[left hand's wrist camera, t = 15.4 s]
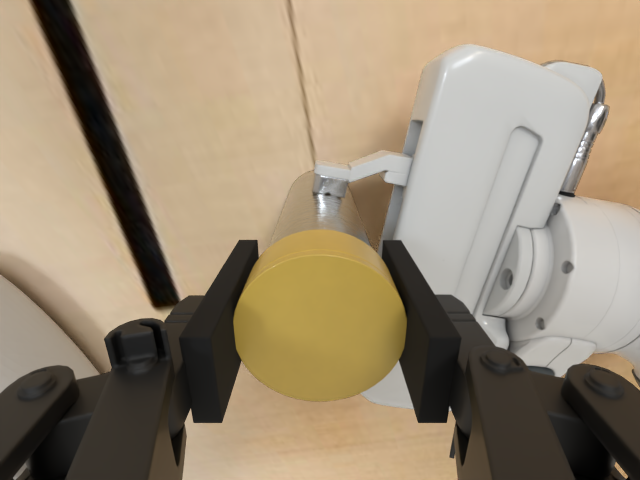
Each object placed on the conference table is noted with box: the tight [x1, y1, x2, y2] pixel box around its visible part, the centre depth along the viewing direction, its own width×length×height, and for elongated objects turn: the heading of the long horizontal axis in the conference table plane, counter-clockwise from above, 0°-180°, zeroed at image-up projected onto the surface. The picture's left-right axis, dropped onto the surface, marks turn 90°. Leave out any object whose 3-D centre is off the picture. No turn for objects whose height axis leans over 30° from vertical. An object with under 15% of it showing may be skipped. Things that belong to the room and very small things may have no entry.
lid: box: [233, 229, 407, 401], centre depth 11 cm, size 5×5×2 cm
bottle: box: [268, 170, 372, 248], centre depth 18 cm, size 5×5×16 cm
